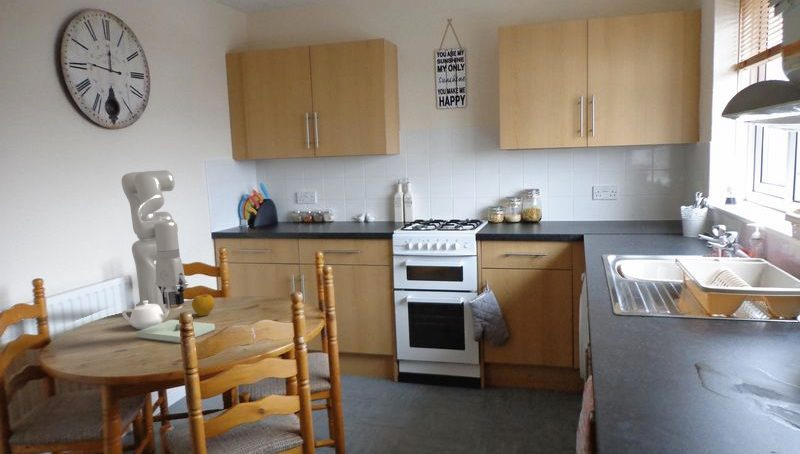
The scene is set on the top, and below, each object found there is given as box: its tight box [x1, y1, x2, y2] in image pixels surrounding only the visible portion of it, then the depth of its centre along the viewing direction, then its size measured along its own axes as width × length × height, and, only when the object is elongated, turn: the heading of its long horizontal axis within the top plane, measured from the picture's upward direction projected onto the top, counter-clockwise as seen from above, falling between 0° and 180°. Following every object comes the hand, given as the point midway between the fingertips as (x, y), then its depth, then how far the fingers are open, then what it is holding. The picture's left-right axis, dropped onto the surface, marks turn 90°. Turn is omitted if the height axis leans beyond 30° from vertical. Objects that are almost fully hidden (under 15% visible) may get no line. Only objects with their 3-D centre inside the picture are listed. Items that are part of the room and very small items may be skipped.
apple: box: [191, 294, 216, 317], centre depth 236 cm, size 9×9×9 cm
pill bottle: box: [164, 287, 183, 311], centre depth 210 cm, size 6×6×10 cm
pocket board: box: [136, 319, 216, 344], centre depth 212 cm, size 22×16×2 cm
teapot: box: [122, 300, 170, 330], centre depth 224 cm, size 20×12×10 cm, turn 88°
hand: (173, 303), depth 210 cm, fingers closed on pill bottle, 5 cm apart
